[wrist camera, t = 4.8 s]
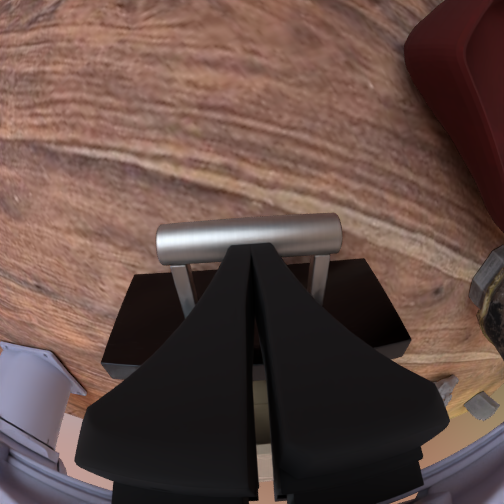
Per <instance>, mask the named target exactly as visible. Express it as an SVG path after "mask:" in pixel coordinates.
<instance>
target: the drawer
mask: <svg viewBox="0 0 504 504" xmlns="http://www.w3.org/2000/svg"><path fill="white" fill-rule="evenodd" d="M267 242H270V243H272V244H273V245H274V247H275V249H276V250H277V252H278V254H279V255H280V257H293V256H307V255H310V263H302V264H289V265H287V266H288V268H289V269H290V270H291V272H292V273H293V274H294V275H295V277H296V278H297V279H298V280H299V282H300V283H301V284H302V285H303V286H304V288H305V289H306V290H307V291H308V292H309V293H310V294H311V295H312V296H313V297H314V298H315V300H316V301H317V302H318V303H319V304H320V305H321V306H322V307H323V308H324V309H325V310H327V311H328V312H329V313H330V314H331V315H332V316H333V317H334V318H335V319H336V320H337V321H339V322H340V323H341V324H342V325H343V326H345V327H346V328H347V329H348V330H349V331H351V332H352V333H353V334H355V335H356V336H357V337H359V338H360V339H361V340H363V341H364V342H365V343H367V344H368V345H369V346H371V347H372V348H374V349H375V350H376V351H378V352H380V353H381V354H383V355H384V356H386V357H387V358H389V359H394V358H398V357H402V356H403V354H404V353H405V351H406V349H407V347H408V346H409V344H410V342H411V337H410V335H409V334H408V332H407V330H406V328H405V326H404V324H403V322H402V321H401V319H400V317H399V315H398V313H397V312H396V310H395V308H394V306H393V305H392V303H391V301H390V299H389V298H388V296H387V294H386V293H385V291H384V289H383V288H382V286H381V284H380V283H379V281H378V279H377V278H376V276H375V274H374V273H373V271H372V270H371V268H370V266H369V265H368V263H367V262H366V260H365V259H364V258H362V259H350V260H339V261H330V254H333V253H338V252H339V251H340V249H341V245H342V227H341V222H340V219H339V217H338V215H337V214H336V213H316V214H295V215H277V216H260V217H245V218H231V219H218V220H206V221H194V222H183V223H172V224H162V225H160V226H159V227H158V229H157V232H156V251H157V255H158V259H159V261H160V263H161V264H162V265H171V266H170V267H171V271H172V272H171V273H154V274H136V275H134V277H133V279H132V281H131V284H130V286H129V288H128V291H127V293H126V296H125V298H124V301H123V303H122V306H121V308H120V311H119V313H118V316H117V318H116V321H115V324H114V326H113V329H112V332H111V335H110V337H109V340H108V343H107V346H106V349H105V352H104V355H103V358H102V361H101V364H102V366H103V367H104V368H105V370H106V371H107V372H108V374H109V375H110V376H111V377H112V378H113V379H122V380H125V379H126V378H128V377H129V376H130V375H131V374H132V373H133V372H134V371H135V370H137V369H138V368H139V367H140V366H141V365H142V364H143V363H144V362H145V361H146V360H148V359H149V358H150V357H151V356H152V355H153V354H154V353H155V352H156V351H157V350H158V349H159V348H160V347H161V346H162V345H163V344H164V343H165V342H166V340H167V339H168V338H169V337H170V336H171V335H172V334H173V333H174V332H175V330H176V329H177V328H178V327H179V326H180V325H181V323H182V322H183V321H184V320H185V318H186V317H187V316H188V315H189V313H190V312H191V311H192V309H193V308H194V307H195V305H196V304H197V302H198V301H199V299H200V298H201V296H202V295H203V293H204V292H205V290H206V289H207V287H208V286H209V284H210V282H211V281H212V279H213V277H214V275H215V274H216V272H217V270H204V271H191V266H190V264H193V263H208V262H222V261H223V259H224V256H225V254H226V252H227V249H228V248H229V247H230V246H231V245H239V244H254V243H267ZM253 399H254V416H255V432H256V445H260V444H271V438H270V424H269V410H268V397H267V384H266V376H265V369H264V363H263V358H262V352H261V346H260V341H259V335H258V329H257V324H256V318H255V326H254V349H253Z"/></svg>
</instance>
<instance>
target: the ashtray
mask: <svg viewBox="0 0 504 504" xmlns="http://www.w3.org/2000/svg"><path fill="white" fill-rule="evenodd" d="M404 56H405V64H406V68H407V70H408V72H409V74H410V76H411V79H412V81H413V83H414V85H415V86H416V88H417V89H418V90H419V92H420V93H421V95H422V96H423V98H424V100H425V102H426V103H427V105H428V106H429V108H430V109H431V111H432V112H433V113H434V115H435V116H436V118H437V119H438V121H439V122H440V123H441V125H442V126H443V127H444V129H445V130H446V131H447V133H448V134H449V136H450V137H451V139H452V141H453V143H454V144H455V146H456V148H457V150H458V152H459V153H460V155H461V157H462V158H463V160H464V162H465V164H466V165H467V167H468V169H469V171H470V173H471V175H472V176H473V178H474V180H475V182H476V184H477V187H478V189H479V192H480V194H481V197H482V199H483V202H484V204H485V207H486V209H487V211H488V212H489V214H490V216H491V217H492V219H493V221H494V222H495V224H496V225H497V226H498V227H499V228H500V229H501V230H502V231H503V233H504V0H445V1H444V2H442V3H441V4H440V5H438V6H437V7H436V8H435V9H434V10H433V11H432V12H431V13H430V14H429V15H428V16H426V17H425V18H424V19H423V20H421V21H420V22H419V23H418V24H417V25H416V26H415V28H414V29H413V30H412V32H411V33H410V35H409V36H408V38H407V40H406V42H405V46H404Z"/></svg>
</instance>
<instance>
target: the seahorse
mask: <svg viewBox="0 0 504 504" xmlns="http://www.w3.org/2000/svg"><path fill="white" fill-rule="evenodd" d="M458 381H459V380H458V378H457V377H456V376H454V375H451V376H450V377H449V378H444V379H441V380H440V381H438V382H433V383H435V385H436V387H437V389H438V391H439V393H440V395H441V397H442V399H445V400H444V401H443V402H444V405H445V407H446V406H447V404H448V402H449V401H450V400H451V398H452V395H451V394H450V393H452V391H453V388H454V387H455V385H456V384H457V383H458ZM449 394H450V395H449Z"/></svg>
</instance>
